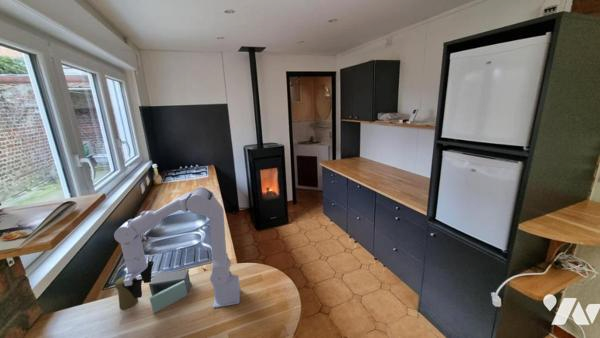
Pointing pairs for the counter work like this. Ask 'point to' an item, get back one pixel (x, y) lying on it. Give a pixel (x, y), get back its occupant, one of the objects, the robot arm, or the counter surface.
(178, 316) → the counter surface
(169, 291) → the sage green bent plank
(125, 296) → the cork
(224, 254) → the robot arm
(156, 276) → the cupboard
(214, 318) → the counter surface
